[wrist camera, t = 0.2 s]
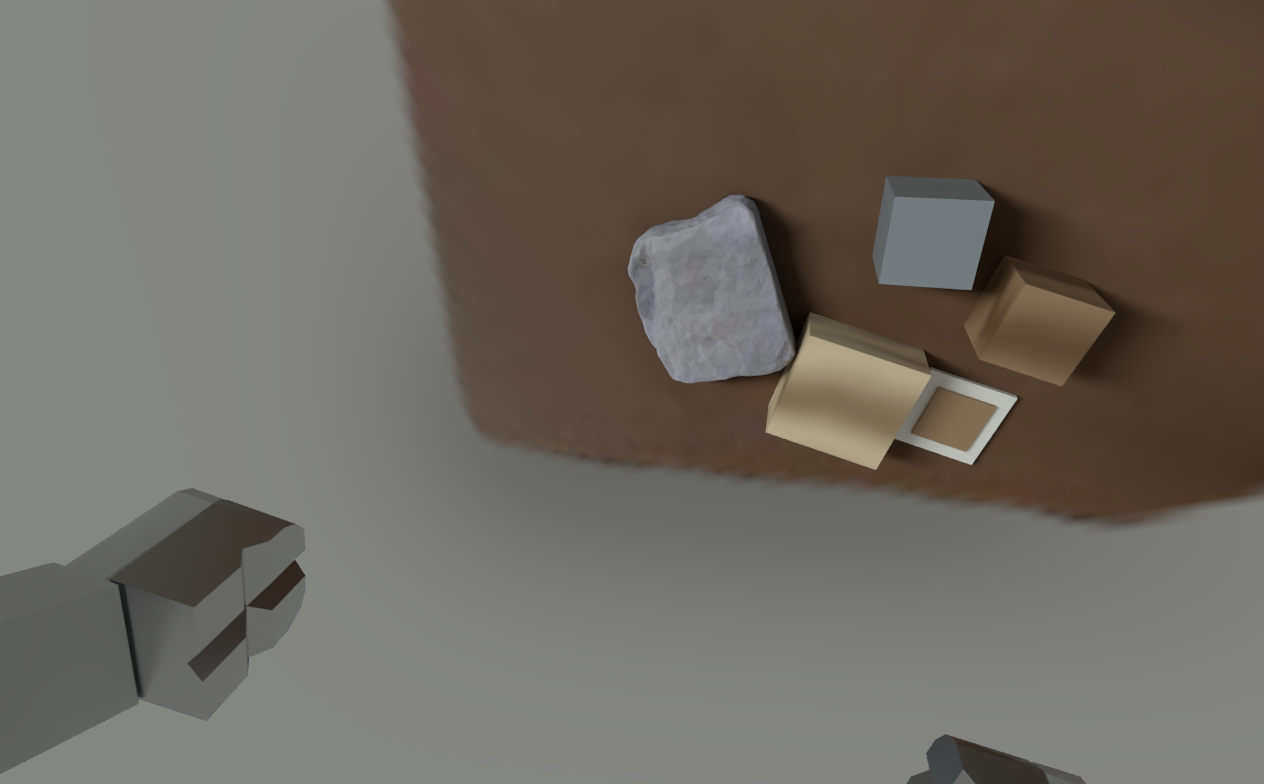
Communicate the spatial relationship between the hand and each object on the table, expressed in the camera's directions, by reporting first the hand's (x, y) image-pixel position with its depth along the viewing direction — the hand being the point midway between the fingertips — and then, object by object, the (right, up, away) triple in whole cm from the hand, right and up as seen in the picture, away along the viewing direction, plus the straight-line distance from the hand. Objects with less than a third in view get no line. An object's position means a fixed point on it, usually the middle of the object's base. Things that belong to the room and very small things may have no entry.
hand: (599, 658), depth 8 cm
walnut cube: (+25, +9, +34) cm, 43 cm away
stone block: (+6, +11, +39) cm, 41 cm away
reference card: (+23, +2, +39) cm, 45 cm away
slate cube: (+18, +14, +33) cm, 40 cm away
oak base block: (+15, +4, +40) cm, 43 cm away
